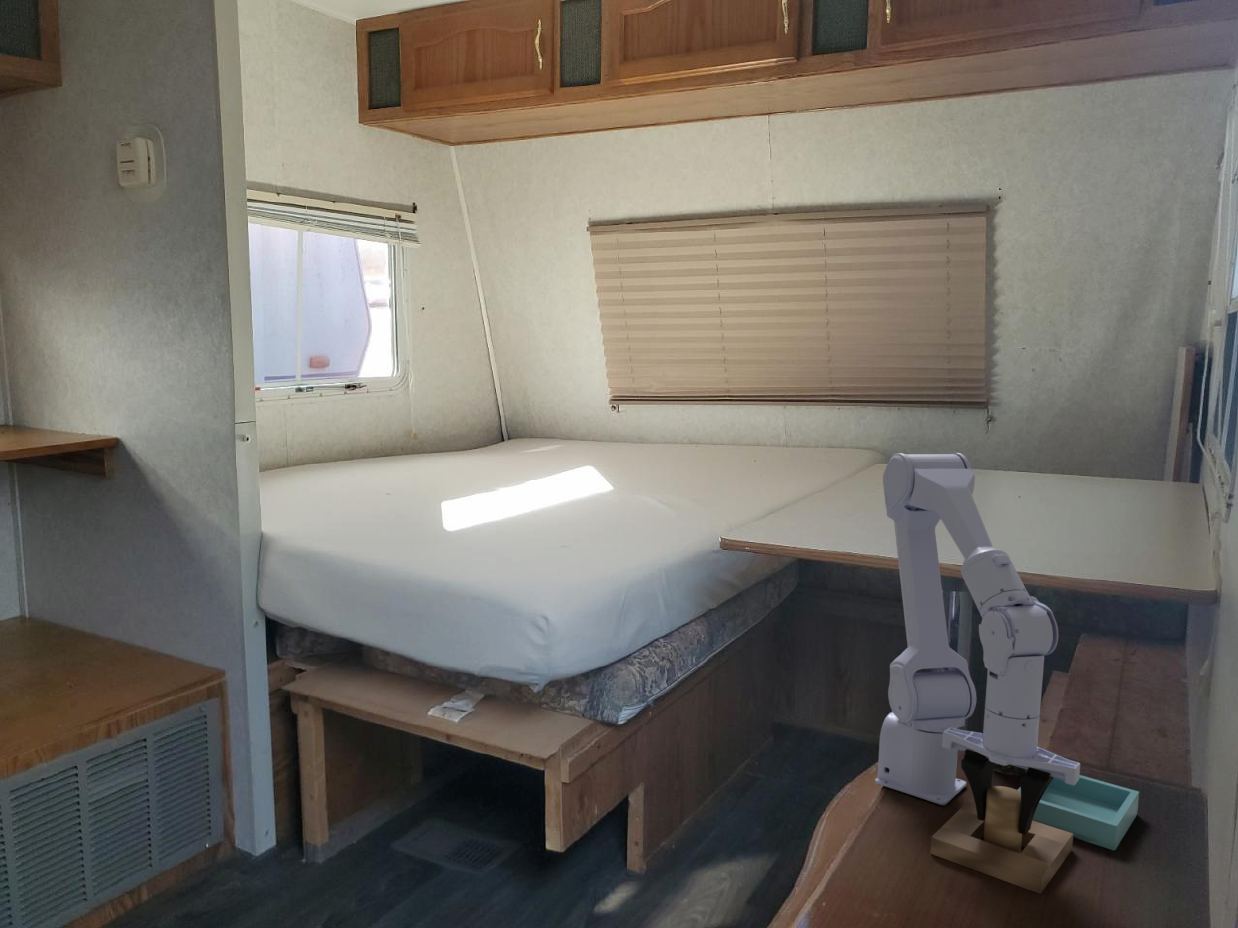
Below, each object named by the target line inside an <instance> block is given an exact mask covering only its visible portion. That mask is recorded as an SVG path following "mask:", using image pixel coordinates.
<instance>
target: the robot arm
mask: <svg viewBox="0 0 1238 928" xmlns="http://www.w3.org/2000/svg"><path fill="white" fill-rule="evenodd" d="M975 476H976V475H975V473H974V472H973V469H972V466H971V464H970V462H969V459H968V458H967V457H966V456H965V455H964V454H963V453H960V452H953V453H949V454H948V453H941V454H940V453H937V454H936V453H934V454H933V453H932V454H931V453H930V454H929V453H928V454H927V453H925V454H921V453H920V454H919V453H915V454H913V453H911V454H910V453H909V454H905V453H903V452H897V453H894V454H893V455H892V456H891V457H890V459H889V460H888V462H887V463H886V466H885V469H884V471H883V473H882V484H883V493H884V494H883V495H884V502H885V503H884V505H885V508H886V516H887V517H888V518H889V519H891V520H892V521H893V526H894V534H895V544H896V553H897V561H898V571H899V579H900V580H899V581H900V585H901V586H900V589H901V597H902V599H901V600H902V606H903V615H904V616H903V617H904V625H905V626H904V627H905V635H906V642H907V648H905V649H904V650H903V651H902V652H901V654H900V655H898V656H897V657H896V658H895V659H894V660H893V661H892V662H891V663H890V664H889V685H888V689H887V694H888V695H887V697H888V703H889V706H890V709H891V712H889V713H888V714H887V715H886V717H885V718H884V720H883V723H882V724H881V725H882V726H881V728H880V734H879V744H878V745H879V748H878V763H877V764H878V766H877V777H876V778H875V780H874V783H875V784H877V785H880V786H883V787H887V788H889V789H892V790H896V791H898V792H901V793H905V794H907V795H910V796H913V797H916V798H919V799H921V800H922V799H923V800H926V801H928V802H932V803H935V804H937V805H941V806H945V805H947V804H948V803H949V802H950V801H951V800H952V799H953V798H954V797H955V796H956V795H958V794H959V793H960V792H961V791H962V790H963V789H964V788H965V787H966V786H967V781H968V784H969V786H970V789H971V792H972V795H973V796H972V797H973V799H974V800H973V801H974V802H975V805H976V810H977V818H978V819H979V820H982V821H984V820H985V813H986V798H987V789H988V788H990V787H992V784H993V783H992V782H993V775H994V772H995V771H994V765H995V763H997V764H1000V765H1004V766H1006V765H1009V764H1010V765H1013V766H1017V767H1020V768H1024V769H1027V770H1028V772H1027V773H1025V774H1024V775H1023V776H1020V778H1019V785H1020V787H1019V788H1021V811H1020V819H1019V833H1021V834H1024V835H1026V833H1027V832H1028V831H1029V830H1030V828H1031V824H1032V820H1033V817H1034V814H1035V811H1036V808H1037V806H1038V804H1039V802H1040V800H1041V798H1042V796H1043V794H1044V792H1045V791H1046V789H1047V787H1048V786H1049V784H1050V783H1051V781H1052V780H1053V778H1054V777H1055V778H1058V779H1062V780H1064V782H1065V783H1067V784H1070V785H1075V784H1076V783H1077V782H1078V780H1079V775H1081V774H1080V772H1081V763H1080V762H1078V761H1075V760H1071V759H1069V758H1065V757H1063V756H1061V755H1059V754H1056V753H1053V752H1051V751H1049V750H1046V749H1045V748H1041V747H1039V746H1038V741H1039V727H1040V714H1041V703H1042V689H1043V680H1044V679H1043V678H1044V677H1043V676H1044V666H1045V664H1044V663H1045V656H1048V655H1051V654H1052V653H1053V652H1054V651H1055V650H1056V648H1057V645H1058V642H1059V627H1058V623H1057V620H1056V618H1055V616H1054V613H1053V610H1052V609H1050V607H1049V606H1047V605H1046V604H1044V603H1042V602H1040V601H1039V600H1038V598H1037V597H1035V596H1031V595H1030V594H1029V592H1028V591H1027V589H1026V587H1025V586H1026V585H1024V583H1023V581H1022V578H1021V577H1020V575H1019V573H1018V571H1017V569H1016V567H1015V566H1014V564H1013V562H1012V559H1011V558H1010V555H1009V554H1008V553H1007V552H1006V551H1004V550H1002V549H998V548H995V547H993V544H992V541H991V539H990V537H989V535H988V534H989V533H988V532H987V530H986V525H985V524H984V522H983V520H982V517H981V515H980V512H979V510H978V507H977V505H976V502H975V500H974V496H973V494H974V489H975V481H976V479H975V478H976V477H975ZM940 520H941V521H942V523H943V525H944V527H945V529H946V530H947V532H948V534H949V535H950V537H951V538H952V540H953V542H954V544H955V545H956V547H957V548H958V550H959V551H960V554H961V555H962V556H963V558H964V560H963V562H962V565H961V568H960V574H961V577H962V578H963V580H964V583H965V585H966V586H967V589H968V591H969V593H970V595H971V598H972V599H973V601H974V604H975V605H976V608H977V609H978V612H979V614H980V617H981V623H979V624H978V635H979V639H980V642H981V645H982V651H983V656H982V657H983V658H982V659H983V663H984V668H986V669H987V675H986V676H987V677H986V688H985V689H986V690H985V701H984V702H985V703H984V716H983V717H984V718H983V729H982V730H983V732H978V731H977V732H976V731H970V730H963V729H960V727H965V726H966V725H965V724H966V719H969V718H970V717H971V716H972V715H973V714H974V711H975V709H976V704H977V698H978V697H977V690H976V687H975V684H974V682H973V680H972V678H971V675H970V670H969V664H968V661H967V660H966V659H965V658H964V657H962V655H960V654H959V653H958V652H956V651H955V650H954V649H952V647H950V646H949V638H948V629H947V621H946V620H947V619H946V613H945V604H944V595H943V588H942V586H943V585H942V579H941V577H942V576H941V570H940V561H939V551H938V546H937V545H938V543H937V536H936V526H937V525H938V523H939V522H940ZM925 669H928V670H929V669H941V671H927V672H926V671H925V672H924V671H923V672H917V671H919V670H925ZM958 751H962V752H964V756H963V758H962V759H961V760H960V765H961V769H962V771H963V773H964V775H965V776H966V779H967V781H966V780H963V779H961V778H957V766H958V765H957V764H958V753H959V752H958Z"/></svg>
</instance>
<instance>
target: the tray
mask: <svg viewBox="0 0 1238 928" xmlns="http://www.w3.org/2000/svg"><path fill="white" fill-rule="evenodd" d="M1017 790H1018V791H1019V792H1021V788H1020V787H1019V788H1018V789H1017ZM1139 796H1140V791H1139V790H1135V789H1130V788H1127V787H1124V786H1120V785H1116V784H1113V783H1111V782H1106V781H1102V780H1099V779H1095V778H1091V777H1088V776H1085V775H1082V774H1079V780H1078V782H1077V783H1076V784H1075V785H1070V784H1067V783H1065V782H1064V780H1062V779H1058V778H1055V777H1054V778H1053V780H1052V781H1051V783H1050V784H1049V786H1048V787H1047V789H1046V791H1045V792H1044V794H1043V796H1042V798H1041V800H1040V802H1039V804H1038V806H1037V808H1036V811H1035V814H1034V817H1033V821H1036V822H1039V823H1042V824H1045V825H1048V826H1051V827H1054V828H1057V829H1061V830H1064V831H1067V832H1070V833H1073V839H1074V838H1075V839H1077V840H1081V841H1084V842H1087V843H1090V844H1093V845H1096V846H1099V847H1103V848H1106V849H1109V850H1111V851H1114V852H1115V851H1116V850H1117V848H1118V847H1119V845H1120V844H1121V841H1122V840H1123V838H1124V837H1125V835H1126V833H1127V832H1128V830H1129V829H1130V827H1131V825H1132V824H1133V822H1134V820H1135V819H1136V817H1137V815H1138V812H1139V811H1138V809H1139V798H1140V797H1139Z"/></svg>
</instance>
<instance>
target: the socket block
mask: <svg viewBox="0 0 1238 928" xmlns="http://www.w3.org/2000/svg"><path fill="white" fill-rule="evenodd" d="M984 827H985V820H984V821H982V820H979V819H978V818H977V810H976V805H975V801H974V800H968V801H966V803H964V805H962V807H961V808H959V810H958V811H956V812H955V814H953V816H951V817H950V819H948V820H947V821H946V822H945V823H944V824H943V825H942V826H941V827H940V828H939V829H938V830H937V831H936V832H935V833H933V835H932V836H931V837H930V850H929V851H930V852H929V854H930V855H933V856H936V857H939V858H941V859H944V860H947V861H948V862H949V861H950V862H952V863H955V864H957V865H960V866H963V867H966V868H969V869H971V870H974V871H977V872H978V873H979V872H980V873H982V874H984V875H987V876H991V877H993V878H996V879H999V880H1001V881H1004V882H1005V883H1006V882H1007V883H1010V884H1012V885H1014V886H1017V887H1020V888H1022V889H1025V890H1028V891H1030V892H1034V893H1037V894H1040V895H1041V894H1042V893H1043V892H1044V890H1045V889H1046V887H1047V886H1048V884H1049V883H1050V881H1051V880H1052V878H1053V877H1054V876H1055V875H1056V873H1057V872H1058V871H1059V869H1060V867H1061V866H1062V864H1063V863H1064V862H1065V861H1066V859H1067V858H1068V856H1069V855H1070V853H1071V852H1072V851H1073V841H1074V837H1073V833H1070V832H1067V831H1064V830H1061V829H1057V828H1054V827H1051V826H1048V825H1045V824H1042V823H1039V822H1036V821H1033V820H1032V824H1031V828H1030V830H1029V831H1028V832H1027V833H1026V835H1024V834H1022V842H1021V848H1024V849H1022V850H1021V853H1017V852H1014V851H1011V850H1008V849H1005V848H1002V847H1000V846H997V845H994V844H991V843H988V842H985V841H984V840H982V838H984Z"/></svg>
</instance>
